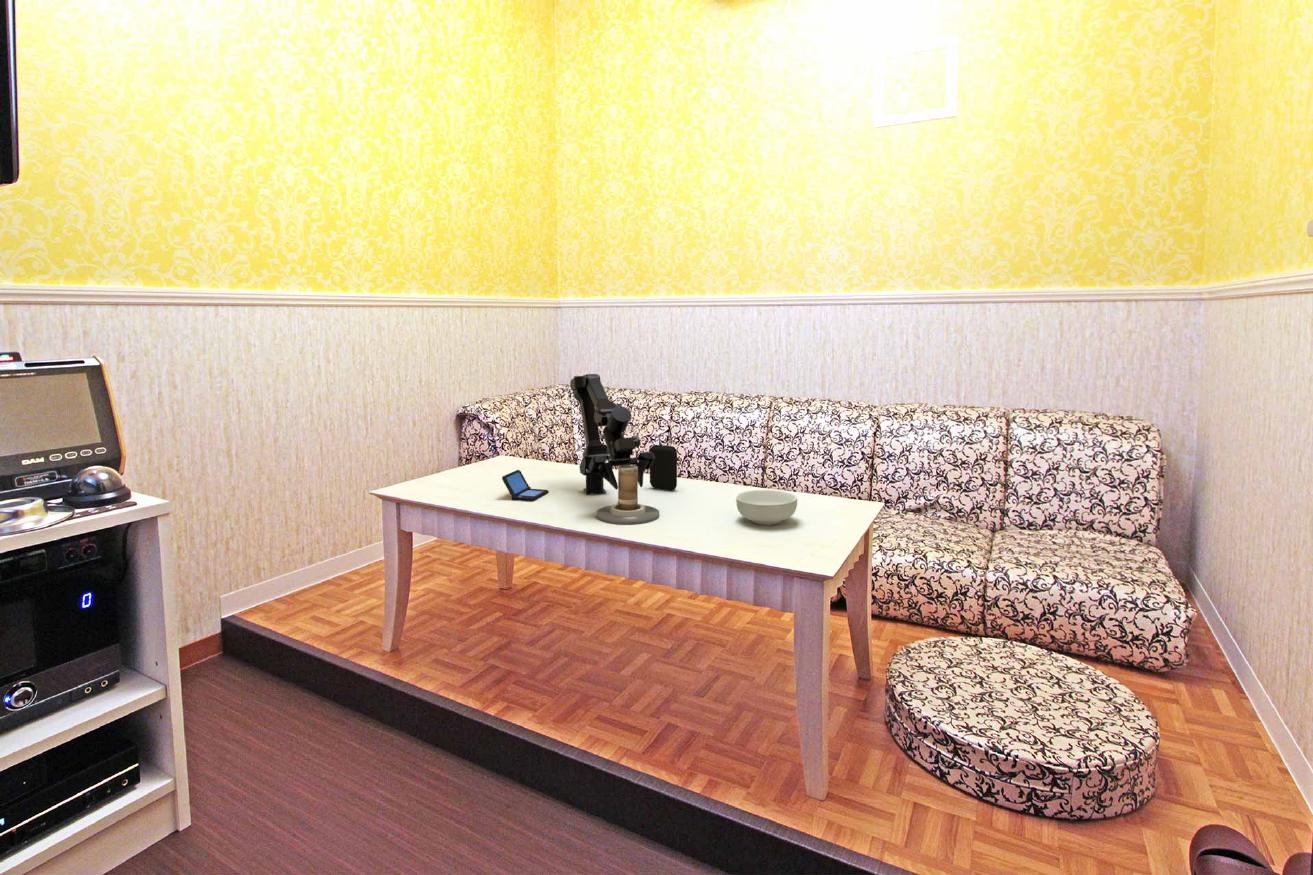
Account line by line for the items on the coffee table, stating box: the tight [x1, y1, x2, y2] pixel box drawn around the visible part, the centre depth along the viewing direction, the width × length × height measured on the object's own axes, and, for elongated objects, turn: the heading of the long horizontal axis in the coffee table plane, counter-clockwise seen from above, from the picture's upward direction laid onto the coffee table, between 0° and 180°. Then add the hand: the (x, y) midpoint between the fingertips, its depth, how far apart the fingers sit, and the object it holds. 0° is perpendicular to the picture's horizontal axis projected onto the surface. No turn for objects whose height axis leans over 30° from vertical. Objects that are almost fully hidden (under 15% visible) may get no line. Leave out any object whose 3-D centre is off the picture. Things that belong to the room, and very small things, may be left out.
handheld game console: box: [501, 469, 549, 502], centre depth 228 cm, size 12×11×7 cm
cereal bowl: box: [735, 489, 798, 526], centre depth 201 cm, size 17×17×7 cm
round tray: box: [595, 503, 660, 526], centre depth 206 cm, size 18×18×2 cm
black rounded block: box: [648, 444, 678, 492], centre depth 237 cm, size 11×3×15 cm, turn 62°
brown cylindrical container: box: [617, 465, 639, 511], centre depth 206 cm, size 6×6×13 cm
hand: (629, 487), depth 204 cm, fingers open, 7 cm apart
